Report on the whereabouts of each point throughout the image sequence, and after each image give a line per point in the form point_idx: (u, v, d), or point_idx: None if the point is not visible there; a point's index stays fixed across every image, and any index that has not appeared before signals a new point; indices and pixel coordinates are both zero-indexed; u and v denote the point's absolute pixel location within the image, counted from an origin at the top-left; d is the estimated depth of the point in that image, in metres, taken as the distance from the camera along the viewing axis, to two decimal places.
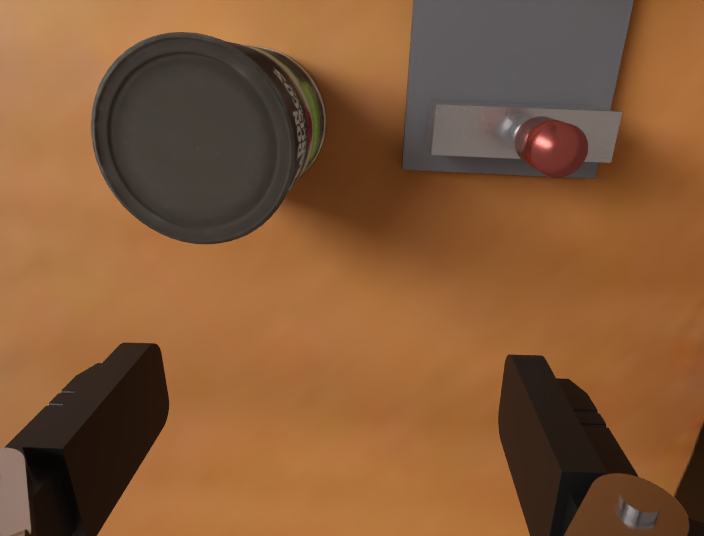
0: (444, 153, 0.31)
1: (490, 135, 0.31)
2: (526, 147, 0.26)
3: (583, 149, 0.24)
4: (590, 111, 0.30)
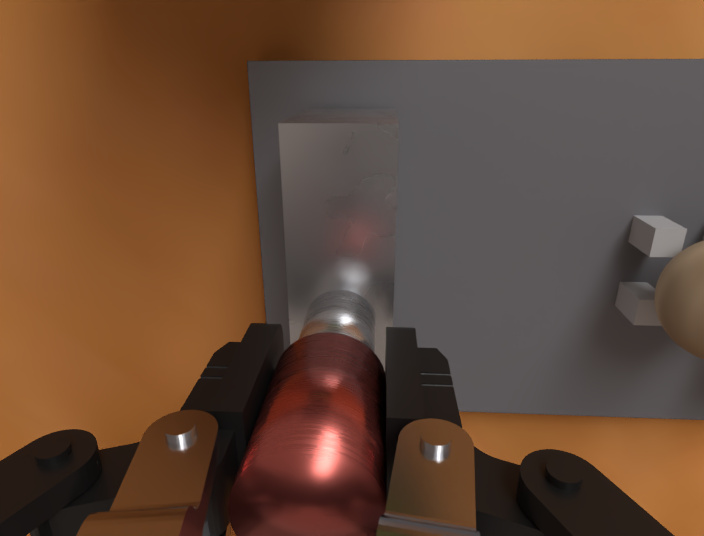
0: (284, 155, 0.13)
1: (333, 254, 0.14)
2: (310, 403, 0.09)
3: None
4: None
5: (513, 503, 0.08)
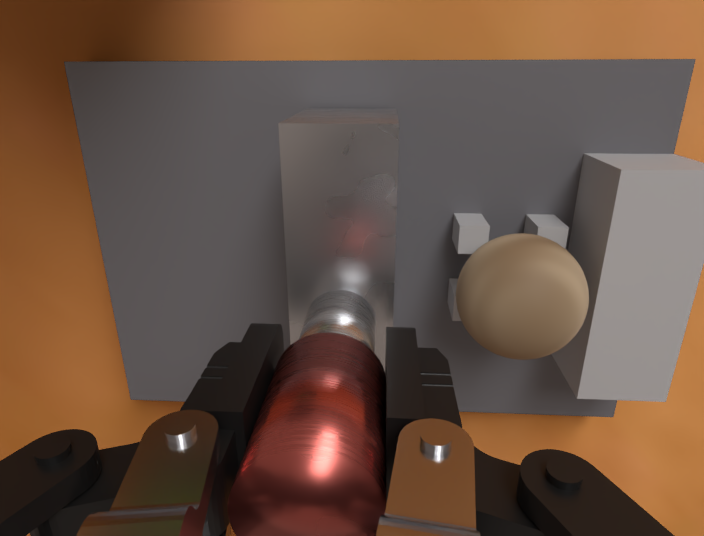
0: (284, 156, 0.13)
1: (333, 254, 0.14)
2: (310, 403, 0.09)
3: None
4: None
5: (513, 503, 0.08)
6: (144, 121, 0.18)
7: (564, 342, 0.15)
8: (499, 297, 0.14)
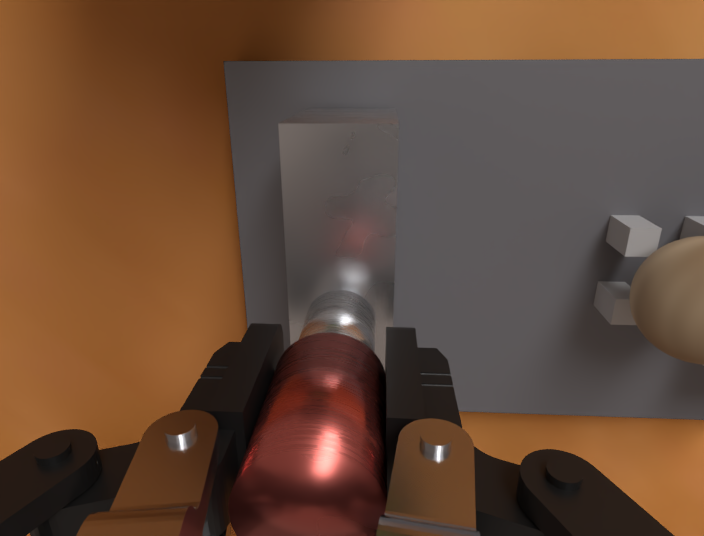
0: (284, 156, 0.13)
1: (333, 254, 0.14)
2: (311, 403, 0.09)
3: None
4: None
5: (513, 503, 0.08)
6: None
7: None
8: (702, 301, 0.14)
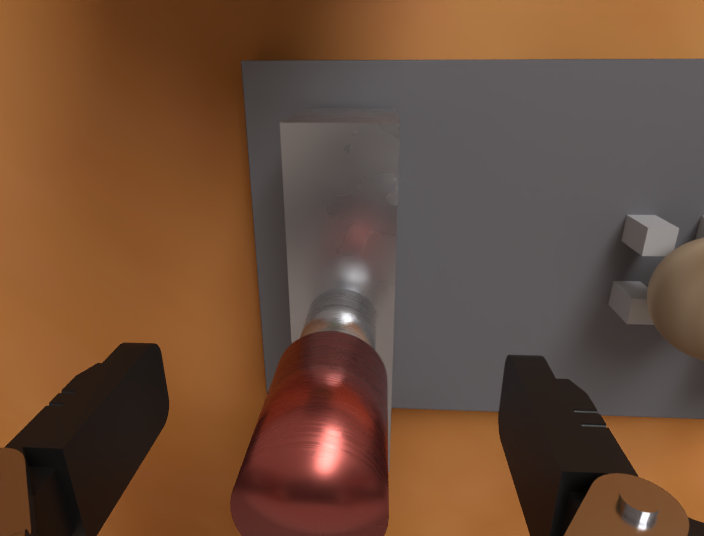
0: (286, 155, 0.13)
1: (334, 253, 0.14)
2: (312, 401, 0.09)
3: None
4: (389, 424, 0.16)
5: None
6: None
7: None
8: None
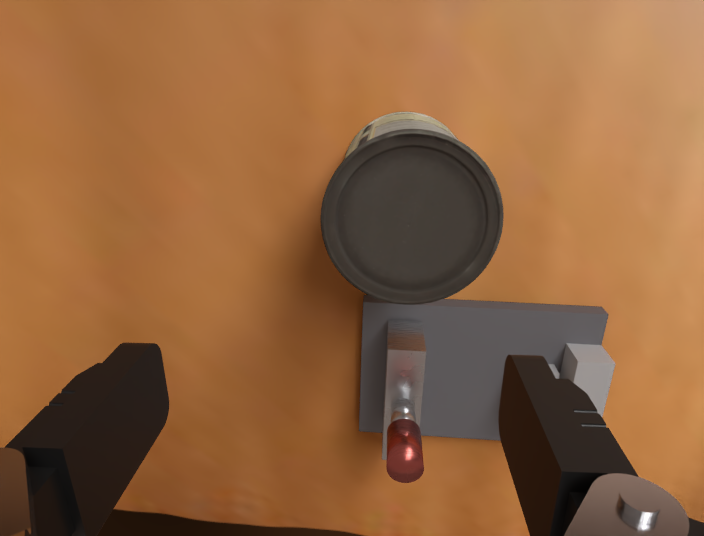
0: (389, 358, 0.40)
1: (402, 387, 0.41)
2: (404, 441, 0.36)
3: (405, 480, 0.36)
4: None
5: None
6: None
7: None
8: None
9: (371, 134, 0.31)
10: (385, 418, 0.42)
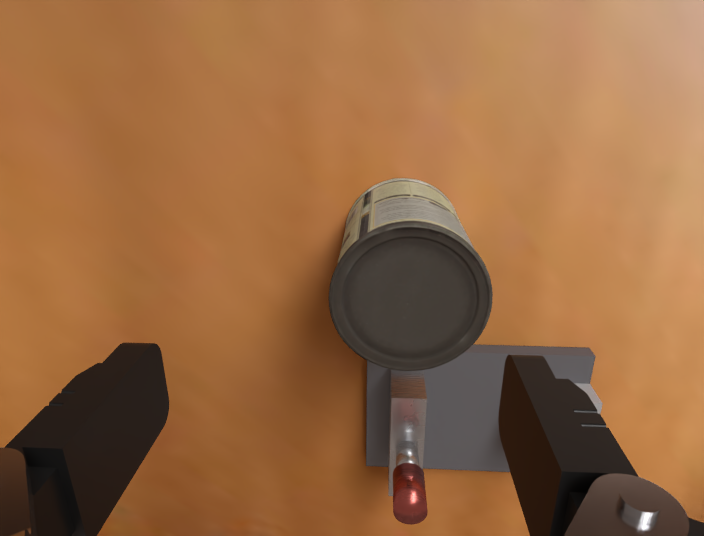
0: (392, 405, 0.43)
1: (405, 431, 0.44)
2: (409, 486, 0.40)
3: (411, 522, 0.39)
4: None
5: None
6: None
7: None
8: None
9: (371, 216, 0.35)
10: (390, 459, 0.46)
